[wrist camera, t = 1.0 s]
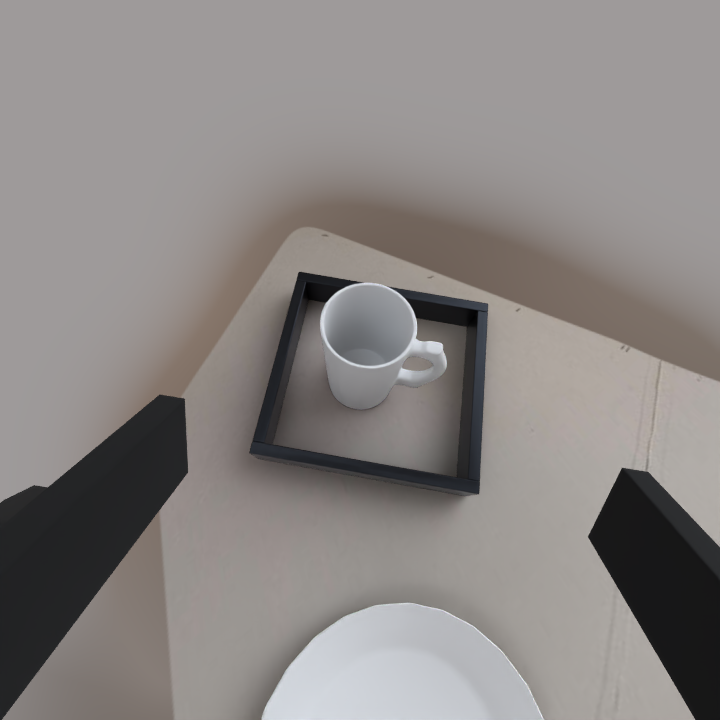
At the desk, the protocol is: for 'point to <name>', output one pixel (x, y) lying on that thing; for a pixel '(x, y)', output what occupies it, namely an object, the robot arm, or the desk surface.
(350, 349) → the mug
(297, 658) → the plate
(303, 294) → the black square frame
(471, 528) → the desk surface
